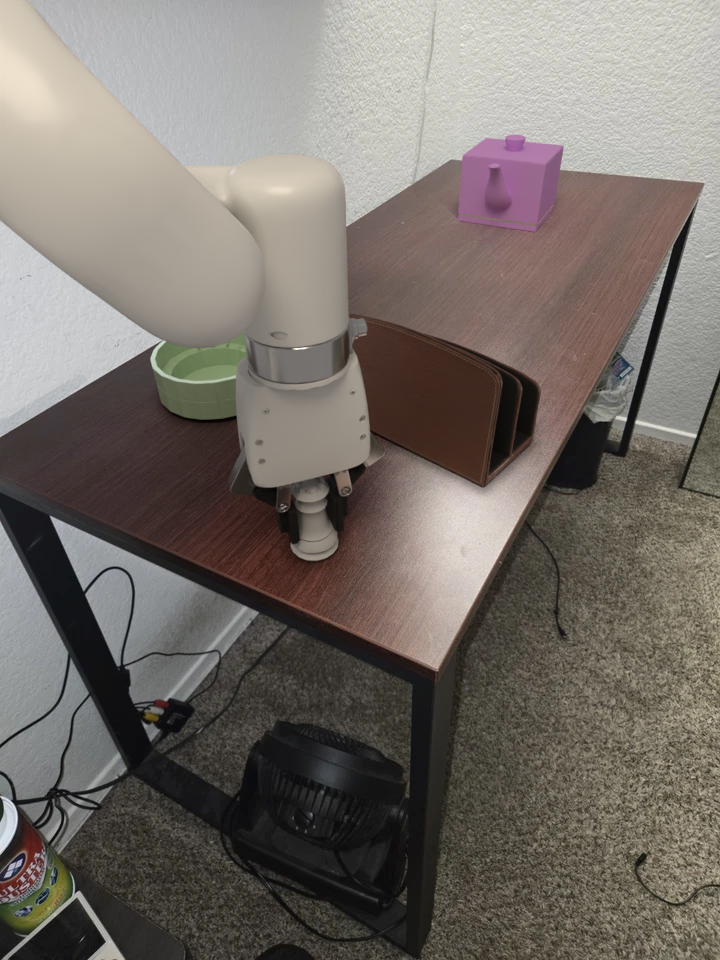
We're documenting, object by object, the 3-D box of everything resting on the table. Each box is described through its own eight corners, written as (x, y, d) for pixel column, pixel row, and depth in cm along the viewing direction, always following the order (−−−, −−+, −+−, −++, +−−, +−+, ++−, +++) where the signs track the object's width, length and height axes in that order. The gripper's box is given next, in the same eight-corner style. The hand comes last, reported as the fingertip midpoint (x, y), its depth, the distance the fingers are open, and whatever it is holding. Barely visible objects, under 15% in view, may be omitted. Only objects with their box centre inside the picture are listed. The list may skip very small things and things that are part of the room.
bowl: (170, 435, 75) (159, 394, 71) (153, 374, 85) (143, 336, 81) (289, 408, 79) (285, 368, 75) (260, 353, 89) (255, 315, 85)
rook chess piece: (317, 571, 59) (312, 505, 53) (280, 550, 61) (272, 484, 56) (348, 542, 61) (346, 477, 56) (312, 522, 63) (306, 458, 58)
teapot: (444, 233, 121) (449, 150, 112) (487, 193, 138) (494, 118, 129) (524, 245, 116) (536, 160, 107) (559, 202, 133) (572, 125, 124)
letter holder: (484, 489, 67) (500, 368, 58) (339, 418, 77) (333, 305, 68) (533, 443, 72) (555, 326, 63) (392, 382, 82) (394, 274, 73)
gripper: (383, 305, 52) (381, 480, 64) (174, 344, 48) (214, 524, 60) (423, 348, 47) (413, 530, 59) (192, 396, 43) (232, 583, 55)
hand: (313, 526), depth 59 cm, fingers closed on rook chess piece, 3 cm apart
